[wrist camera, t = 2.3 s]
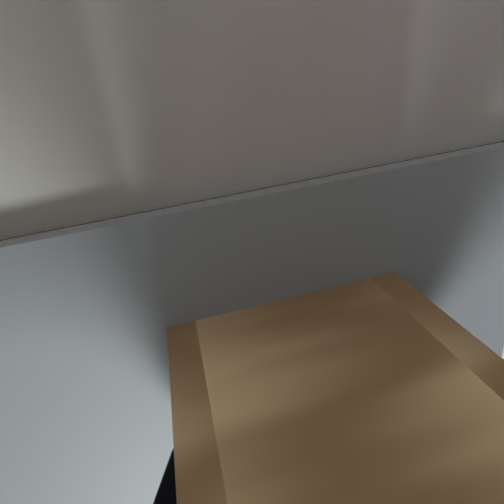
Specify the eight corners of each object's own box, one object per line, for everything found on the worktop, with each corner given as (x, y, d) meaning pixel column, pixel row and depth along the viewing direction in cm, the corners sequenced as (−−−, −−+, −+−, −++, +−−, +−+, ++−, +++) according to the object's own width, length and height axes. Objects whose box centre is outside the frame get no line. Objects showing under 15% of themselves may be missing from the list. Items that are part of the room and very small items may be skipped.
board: (526, 137, 9) (541, 139, 8) (474, 442, 13) (483, 452, 13) (-1048, 447, 5) (-1136, 474, 5) (-399, 727, 9) (-421, 752, 9)
